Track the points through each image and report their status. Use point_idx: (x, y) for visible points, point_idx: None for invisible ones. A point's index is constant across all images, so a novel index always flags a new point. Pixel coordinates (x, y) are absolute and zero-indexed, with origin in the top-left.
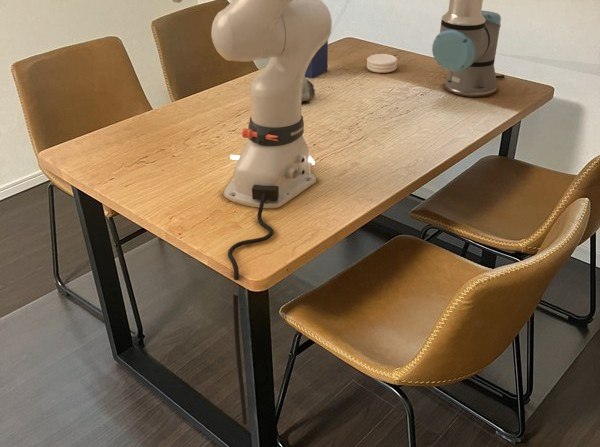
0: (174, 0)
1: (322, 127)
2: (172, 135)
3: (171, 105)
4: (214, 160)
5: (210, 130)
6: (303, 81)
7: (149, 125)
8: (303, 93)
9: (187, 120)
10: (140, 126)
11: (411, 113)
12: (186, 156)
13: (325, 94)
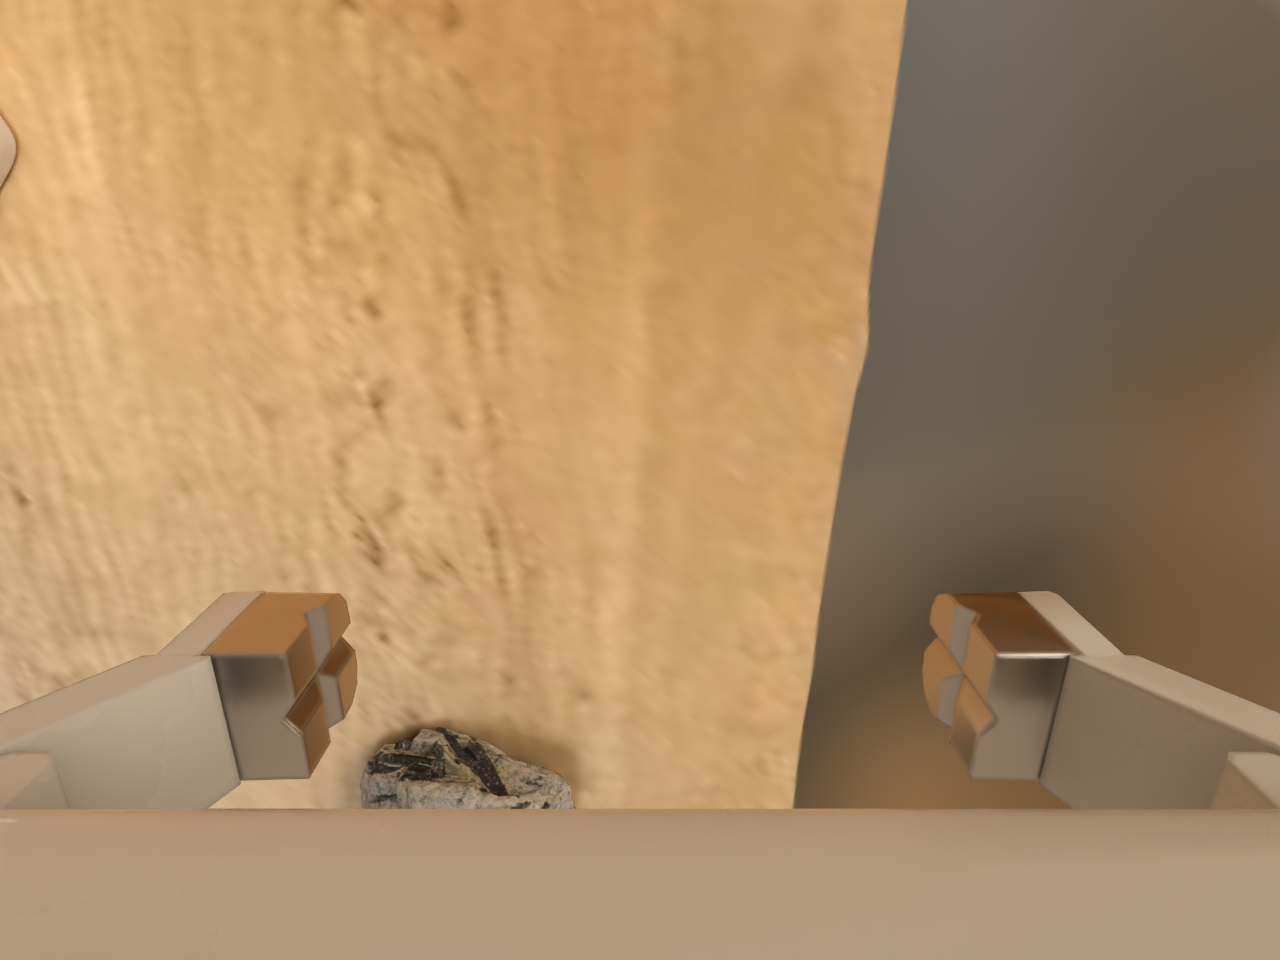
0: (277, 597)
1: (141, 638)
2: (553, 182)
3: (839, 436)
4: (169, 105)
5: (459, 340)
6: None
7: (744, 194)
8: (365, 796)
9: (636, 356)
10: (774, 154)
11: None
12: (300, 45)
13: None
